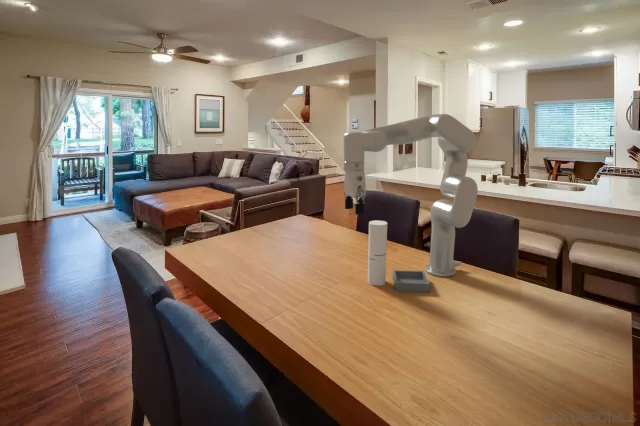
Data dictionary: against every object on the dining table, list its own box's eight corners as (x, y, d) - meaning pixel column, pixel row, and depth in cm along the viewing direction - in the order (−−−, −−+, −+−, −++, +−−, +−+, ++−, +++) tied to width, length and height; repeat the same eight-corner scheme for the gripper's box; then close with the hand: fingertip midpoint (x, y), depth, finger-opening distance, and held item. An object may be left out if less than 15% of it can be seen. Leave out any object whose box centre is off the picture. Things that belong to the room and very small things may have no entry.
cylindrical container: (385, 286, 143) (387, 225, 138) (367, 284, 145) (368, 224, 139) (385, 279, 150) (387, 220, 144) (368, 277, 152) (369, 220, 146)
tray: (423, 278, 150) (423, 271, 149) (429, 292, 138) (429, 283, 137) (392, 278, 151) (392, 270, 150) (395, 291, 139) (396, 282, 138)
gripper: (373, 168, 127) (373, 215, 131) (353, 163, 143) (353, 206, 147) (354, 169, 124) (354, 217, 128) (336, 164, 140) (336, 207, 144)
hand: (354, 211), depth 138 cm, fingers open, 9 cm apart
